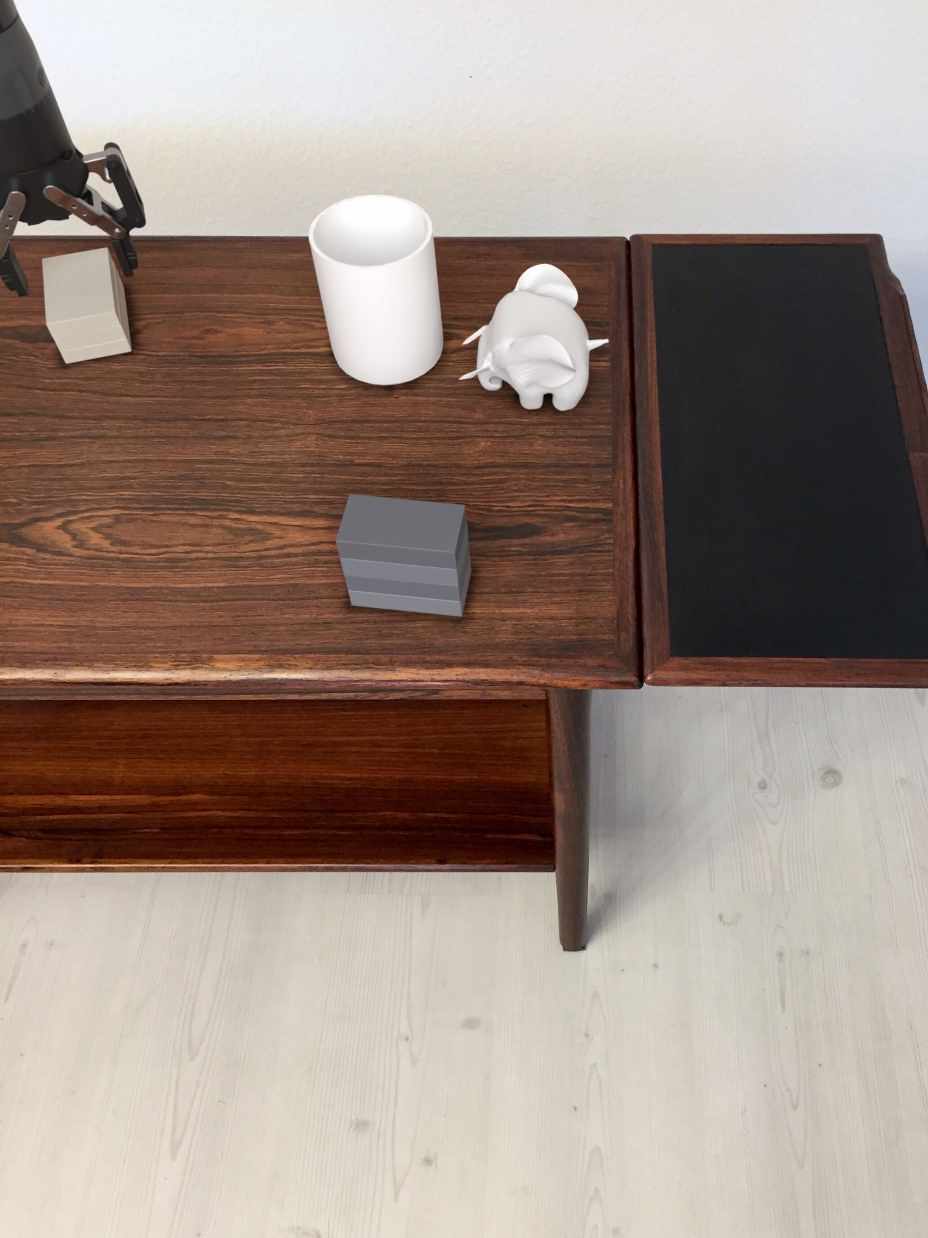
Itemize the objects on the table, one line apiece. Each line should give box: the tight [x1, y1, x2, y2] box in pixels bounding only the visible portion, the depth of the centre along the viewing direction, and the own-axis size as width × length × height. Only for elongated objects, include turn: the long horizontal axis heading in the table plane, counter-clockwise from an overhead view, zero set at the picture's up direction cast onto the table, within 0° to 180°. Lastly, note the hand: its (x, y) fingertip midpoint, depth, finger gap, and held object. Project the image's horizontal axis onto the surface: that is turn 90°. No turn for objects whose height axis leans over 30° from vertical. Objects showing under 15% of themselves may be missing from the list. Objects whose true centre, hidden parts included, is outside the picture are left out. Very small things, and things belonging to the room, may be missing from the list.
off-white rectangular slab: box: [41, 247, 120, 339], centre depth 89 cm, size 9×6×1 cm, turn 17°
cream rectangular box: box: [53, 260, 133, 365], centre depth 91 cm, size 9×6×3 cm, turn 17°
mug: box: [308, 193, 444, 386], centre depth 86 cm, size 10×12×12 cm
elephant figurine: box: [458, 263, 610, 412], centre depth 85 cm, size 10×12×9 cm
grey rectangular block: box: [335, 493, 472, 617], centre depth 73 cm, size 8×4×7 cm, turn 83°
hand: (76, 280), depth 89 cm, fingers open, 8 cm apart
